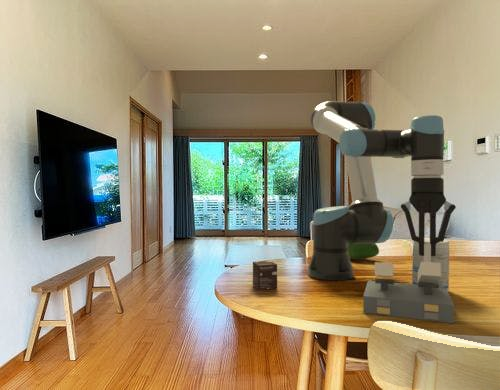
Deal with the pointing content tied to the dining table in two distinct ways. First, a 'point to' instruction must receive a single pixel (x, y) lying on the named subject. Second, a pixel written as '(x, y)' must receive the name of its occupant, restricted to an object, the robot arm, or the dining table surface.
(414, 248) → the supplement tub
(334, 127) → the robot arm
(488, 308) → the dining table surface
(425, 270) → the switch right
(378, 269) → the switch left
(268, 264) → the box
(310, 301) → the dining table surface
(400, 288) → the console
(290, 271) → the dining table surface
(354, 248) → the fruit
